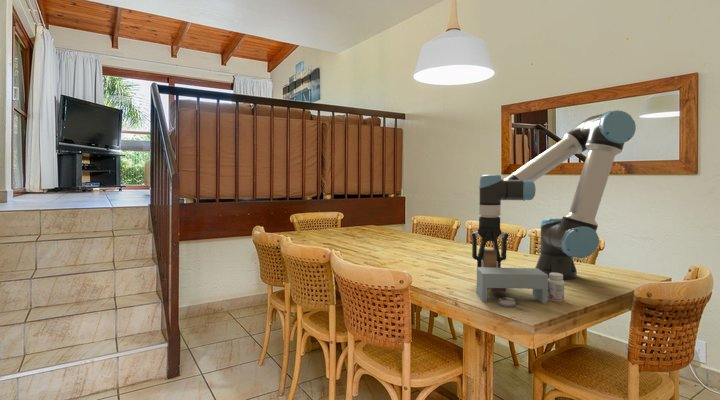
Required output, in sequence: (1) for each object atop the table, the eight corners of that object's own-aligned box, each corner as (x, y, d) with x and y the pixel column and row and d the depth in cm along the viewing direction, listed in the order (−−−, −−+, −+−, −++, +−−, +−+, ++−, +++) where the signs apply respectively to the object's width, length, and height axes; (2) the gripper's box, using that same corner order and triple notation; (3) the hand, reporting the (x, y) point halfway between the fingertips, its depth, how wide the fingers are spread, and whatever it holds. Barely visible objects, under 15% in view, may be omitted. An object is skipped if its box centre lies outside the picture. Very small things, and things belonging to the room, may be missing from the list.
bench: (537, 294, 130) (537, 268, 130) (547, 303, 121) (548, 275, 121) (476, 293, 132) (476, 267, 132) (482, 301, 123) (482, 273, 123)
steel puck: (513, 303, 122) (514, 297, 122) (517, 309, 117) (517, 302, 117) (497, 302, 123) (497, 296, 122) (500, 308, 118) (500, 301, 117)
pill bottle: (544, 297, 127) (545, 272, 127) (558, 297, 128) (558, 272, 127) (552, 302, 123) (553, 276, 122) (567, 301, 123) (567, 275, 122)
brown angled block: (480, 279, 147) (481, 248, 147) (493, 279, 147) (494, 248, 146) (491, 292, 131) (491, 257, 130) (505, 292, 130) (506, 257, 130)
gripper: (511, 215, 146) (509, 275, 148) (463, 215, 148) (463, 274, 149) (517, 217, 139) (515, 281, 140) (467, 217, 141) (466, 280, 142)
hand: (488, 277), depth 145 cm, fingers closed on brown angled block, 4 cm apart
